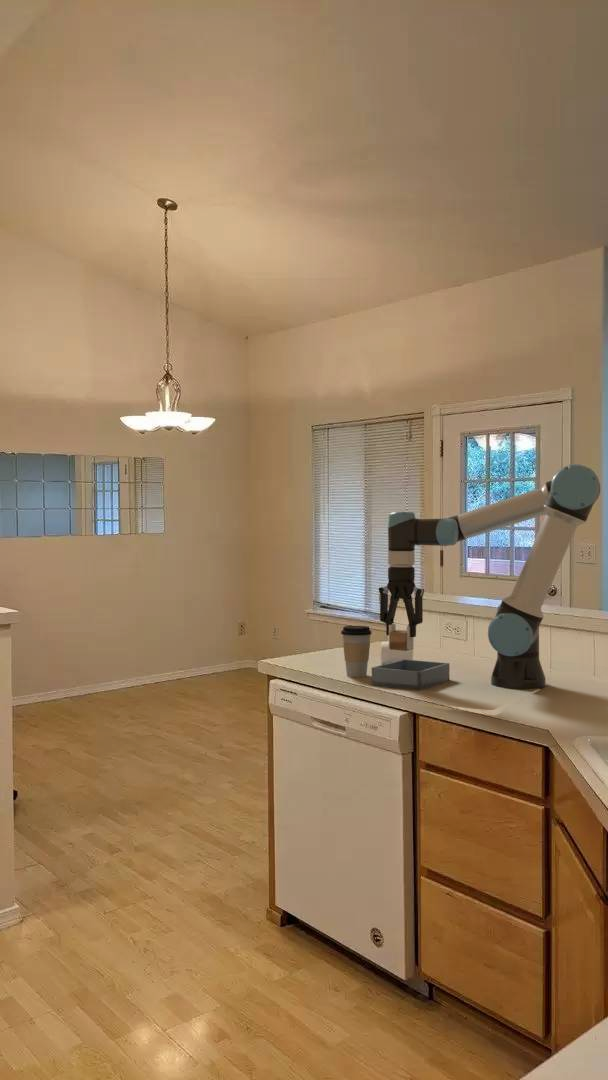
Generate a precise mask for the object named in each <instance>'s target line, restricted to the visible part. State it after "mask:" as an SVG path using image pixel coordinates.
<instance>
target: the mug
mask: <svg viewBox="0 0 608 1080" xmlns="http://www.w3.org/2000/svg"><path fill="white" fill-rule="evenodd" d="M403 659H406V660H414V648H413V649H411V650H407V651H401V650H391V649H390V648H389V641H382V642H381V644H380V665H383V664H387V663H391V662H395V661H399V660H403Z"/></svg>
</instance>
